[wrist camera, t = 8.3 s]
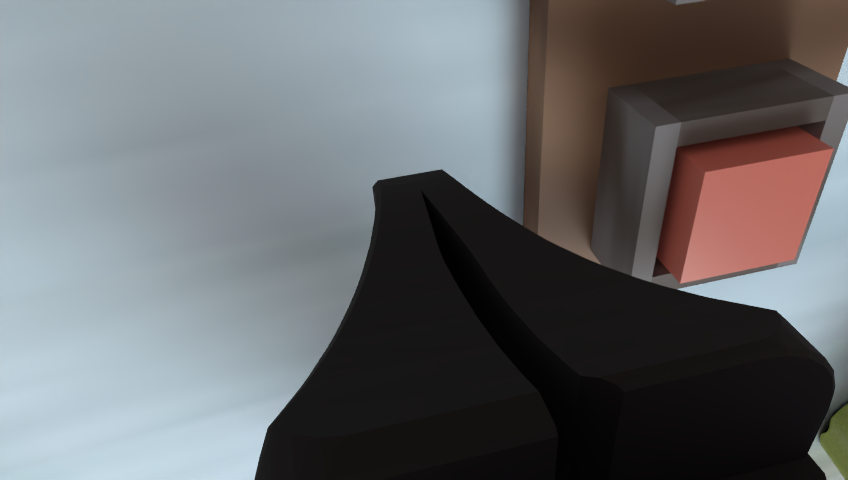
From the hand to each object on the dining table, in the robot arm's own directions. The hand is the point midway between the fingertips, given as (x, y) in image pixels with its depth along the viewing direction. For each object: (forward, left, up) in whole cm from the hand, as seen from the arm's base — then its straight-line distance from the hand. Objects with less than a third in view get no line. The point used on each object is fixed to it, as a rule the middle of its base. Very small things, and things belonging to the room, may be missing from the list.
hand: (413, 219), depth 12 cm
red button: (-11, -5, -7) cm, 14 cm away
